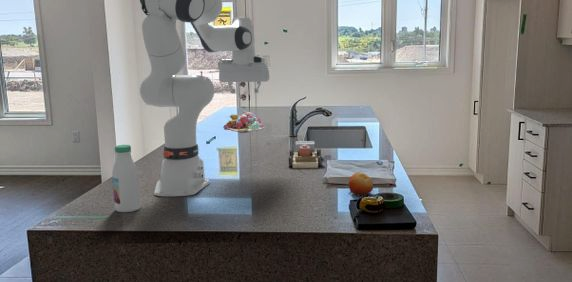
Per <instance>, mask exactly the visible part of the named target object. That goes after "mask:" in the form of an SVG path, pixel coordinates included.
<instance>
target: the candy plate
mask: <svg viewBox="0 0 572 282" xmlns="http://www.w3.org/2000/svg"><path fill="white" fill-rule="evenodd" d="M229 118H230V120H228V122H226V123H225V124H224V125H223V129H226V130H230V131H232V132H238V133H242V132H254V131H255V132H256V131H260V130H263V129H265V126H264V124H263V123H262V120H261V118H260V116H259V115H258V116H257V114H256V113H255V114H254V113H252V112H251V111H249V112H248V111H247V110H244V111H242V114H241V115H239V114H232V113H231V115H230V116H229Z"/></svg>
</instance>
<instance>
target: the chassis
mask: <svg viewBox="0 0 572 282" xmlns="http://www.w3.org/2000/svg"><path fill="white" fill-rule="evenodd" d="M302 145H307V146H310V156H300V146H302ZM315 149H316V150H315ZM321 152H322V149H321V148H315V141H314V140H310V141H309V140H308V141H307V140H303V141H302V140H300V141H297V140H296V141H295V151H294V149H293V148H291V149H289V156H288V167H292V169H318V168H319V167H322V166H323V157H322V153H321Z"/></svg>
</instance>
